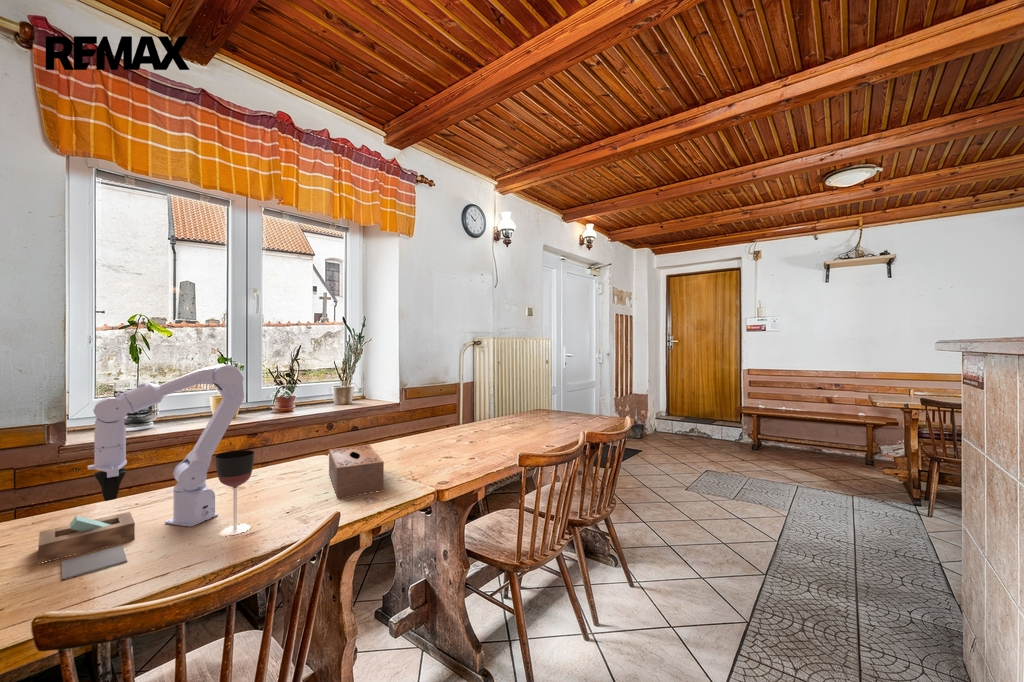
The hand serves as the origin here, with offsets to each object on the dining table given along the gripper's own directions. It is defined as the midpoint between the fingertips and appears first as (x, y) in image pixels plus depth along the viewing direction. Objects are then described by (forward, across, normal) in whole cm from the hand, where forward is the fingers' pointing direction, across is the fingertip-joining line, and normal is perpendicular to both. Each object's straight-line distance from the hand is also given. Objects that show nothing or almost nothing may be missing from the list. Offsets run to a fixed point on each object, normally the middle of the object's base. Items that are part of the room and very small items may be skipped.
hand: (110, 499), depth 105 cm
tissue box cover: (+10, +6, +62) cm, 63 cm away
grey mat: (+10, +13, -3) cm, 17 cm away
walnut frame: (+10, 0, -3) cm, 10 cm away
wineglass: (+10, +17, +23) cm, 30 cm away
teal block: (+7, 0, -3) cm, 8 cm away
